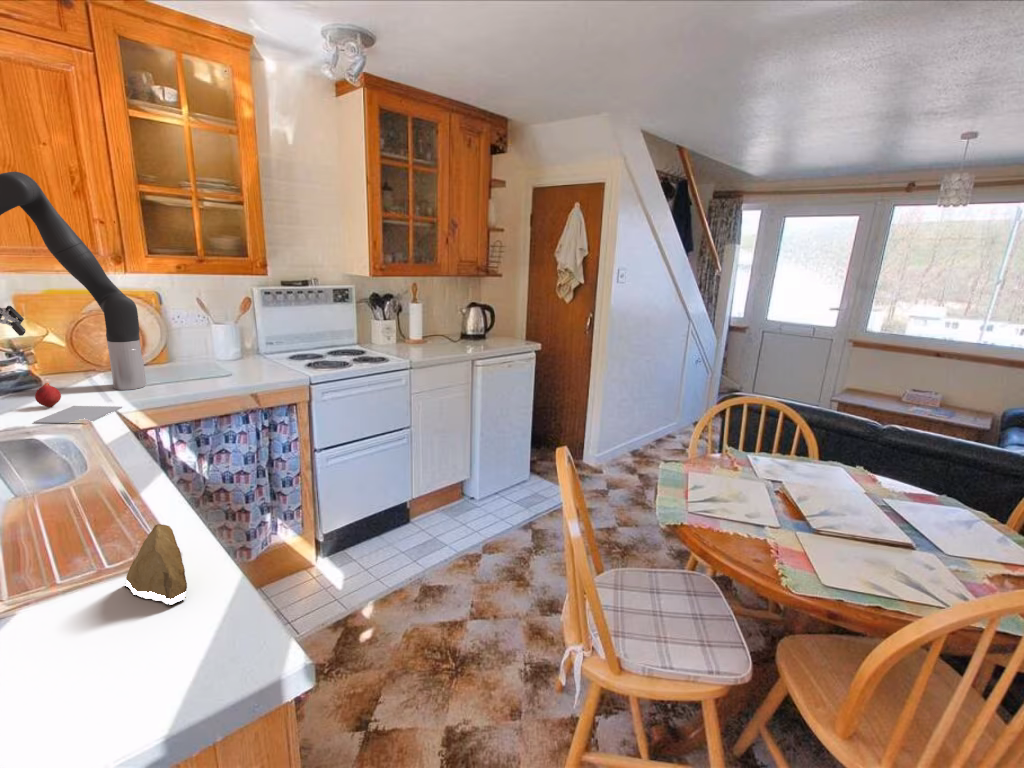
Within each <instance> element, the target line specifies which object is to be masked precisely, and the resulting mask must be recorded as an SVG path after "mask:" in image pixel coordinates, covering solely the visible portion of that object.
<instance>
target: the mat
mask: <svg viewBox="0 0 1024 768" xmlns="http://www.w3.org/2000/svg"><path fill="white" fill-rule="evenodd" d="M122 408H123V406H115V405H113V406H111V405H110V406H109V405H107V406H106V405H105V406H103V405H102V406H101V405H100V406H99V405H72V406H70V407H67V408H65V409H64V408H63V409H62V410H60V411H57V412H55V413H51V414H50V415H47V416H45V417H42V418H39V419H37V420H34V421H33V422H34V423H69V422H72V421H75V420H79V419H84V418H85V419H88V420H90V421H93V422H95V421H97V420H100V419H101V418H103V416H104V415H106V414H108V413H110V414H112V413H115V412H117V411H118V410H120V409H121V410H122ZM111 412H112V413H111ZM108 415H109V414H108ZM106 416H107V415H106ZM104 417H105V416H104Z"/></svg>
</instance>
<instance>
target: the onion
mask: <svg viewBox="0 0 1024 768" xmlns="http://www.w3.org/2000/svg"><path fill="white" fill-rule="evenodd" d="M34 398H35V401H36V402H37V403H38V404H39V405H42V406H44V407H46V408H48V409H49V408H50V409H51V408H54V406H55V405H56V404H58V403H59V402H60V401H61V399H62V393H61V392H60V390H59V389H58V388H56V387H54V386H52V385H50V382H45V383H44V384H43V385H42V386H40V387H39V388H38V389H37V390H36V392H35V394H34Z"/></svg>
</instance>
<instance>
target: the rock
mask: <svg viewBox="0 0 1024 768" xmlns="http://www.w3.org/2000/svg"><path fill="white" fill-rule="evenodd" d="M185 572H186V569H185V565H184V562H183V557H182V554H181V549H180V547H179V546H178V543H177V540H176V536H175V534H174V530H173V529H172V528H171V526H170V525H166V524H160V523H158V524H155V525H154V526H153V527H152V529H151V531H150V532H149V533H148V535H147V536H146V538H145V540H143V543H142V545H141V547H140V549H139V550H138V552H137V556H136V558H135V559H134V560H133V561H132V563H131V565H130V567H129V570H128V571H127V574H126V580H128V581H129V582H130V583H131V585H132V587H133V588H135V589H136V590H137V591H147V592H149V591H152V592H155V593H157V594H161V595H165V596H166V598H170V599H171V598H174V597H175V596H177V595H179V594H181V593H183V592H185V591H187V588H188V583H187V578H186V573H185Z"/></svg>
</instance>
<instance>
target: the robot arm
mask: <svg viewBox="0 0 1024 768" xmlns="http://www.w3.org/2000/svg"><path fill="white" fill-rule="evenodd" d="M17 207H20V208H21V209H22V211H24V212H25V214H26V215H27V216H28V217H29V218H30V220H32V222H33V223H34V225H35V226H36V228H37V230H38V232H39V235H40V237H41V239H42V241H43V243H44V245H45V246H46V248H47V250H48V251H49V252H50V253H51V255H52V256H53V257H54V258H55V259H56V260H57V262H59V264H60V265H61V266H62V267H63V268H64V269H65V270H66V271H67V272H68V273H69V275H71V276H72V277H73V278H74V279H75V280H77V281H78V282H79V283H80V285H81V284H82V286H84V288H86V290H87V291H88V293H89V294H90V295H91V296H92V298H93V299H94V300H95V302H96V303H97V305H98V306H99V308H100V309H101V311H102V313H103V315H104V324H105V331H106V332H105V337H106V343H107V349H108V356H109V363H110V370H111V376H112V384H113V388H114V389H115V390H120V391H121V390H122V391H123V390H124V391H127V390H128V391H129V390H136V389H141V388H144V387H146V385H147V379H146V371H145V364H144V359H143V355H142V348H141V341H140V340H141V339H140V323H139V313H138V307H137V305H136V303H135V302H134V300H132V299H131V298H130V297H128V296H127V295H125V294H124V293H123V292H122V291H121V290H120V289H119V288H118V286H116V285H115V283H113V282H112V281H111V279H110V278H109V277H108V275H107V274H106V272H105V270H104V269H103V267H102V265H101V264H100V262H99V261H98V259H97V258H96V256H95V255H94V254H93V252H92V251H91V250H90V248H89V247H88V246H87V245H86V244H85V243H84V241H83V240H82V239H81V238H80V237H79V236H78V235H77V233H76V232H75V231H74V230H73V229H72V228H71V226H70V225H69V224H68V223H67V222H66V221H65V219H64V218H63V217H62V216H61V215H60V214H59V212H58V211H57V210H56V209H55V207H54V205H53V204H52V203H51V202H50V200H49V199H48V197H47V196H46V194H45V193H44V191H43V190H42V188H41V187H40V185H39V184H38V183H37V182H36V181H35V180H34V179H33V178H32V177H30V176H29V175H27V174H25V173H22V172H19V171H8V172H2V173H0V216H2V215H3V214H5V213H7V212H9V211H10V210H11V211H12V210H13V209H16V208H17ZM2 317H4V318H3V319H2ZM24 320H25V318H24V317H23V316H22V315H21V314H20V313H19V312H18V311H17V310H16V309H14V307H13V306H11V305H7V306H6V307H0V324H1V325H7V326H10V327H11V329H12V330H13V331H14V332H15V333H16V334H18V336H19V337H21V336H24V335H25V333H26V329H25V328H24V327H23V325H22V322H23V321H24Z"/></svg>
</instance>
